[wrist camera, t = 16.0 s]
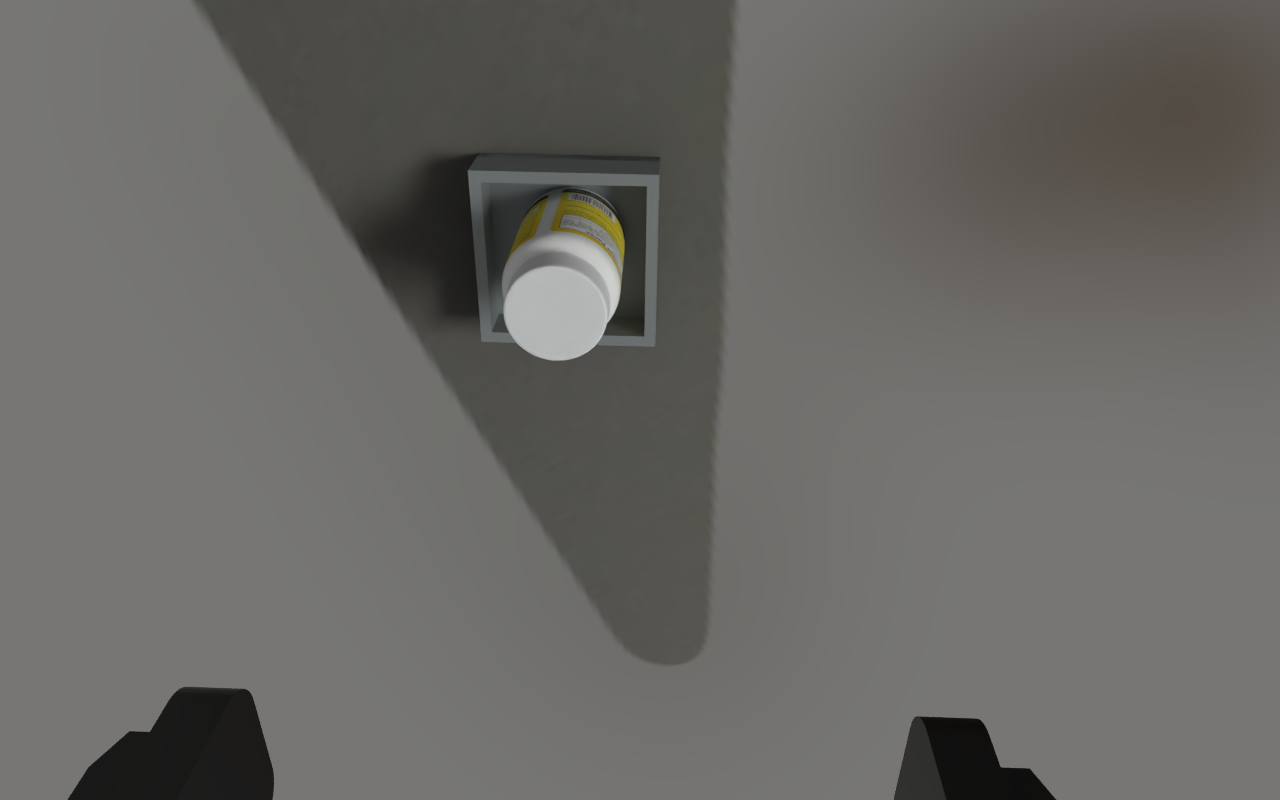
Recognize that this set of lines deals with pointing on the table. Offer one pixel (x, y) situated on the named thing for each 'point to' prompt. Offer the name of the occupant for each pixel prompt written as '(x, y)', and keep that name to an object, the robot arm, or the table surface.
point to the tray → (521, 179)
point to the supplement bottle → (564, 274)
